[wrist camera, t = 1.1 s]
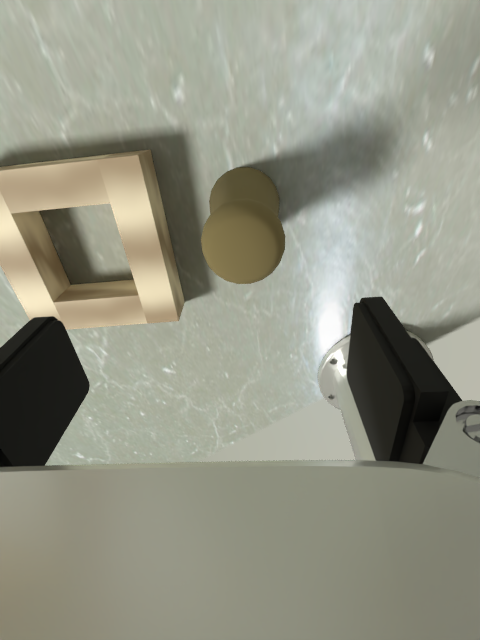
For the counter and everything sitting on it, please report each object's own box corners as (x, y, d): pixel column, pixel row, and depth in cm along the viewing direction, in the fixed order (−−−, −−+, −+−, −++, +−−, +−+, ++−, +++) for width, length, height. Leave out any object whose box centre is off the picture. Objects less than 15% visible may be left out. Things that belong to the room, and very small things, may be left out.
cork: (291, 218, 29) (311, 271, 19) (231, 250, 30) (225, 313, 21) (259, 151, 26) (265, 176, 17) (195, 191, 28) (169, 233, 18)
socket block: (184, 302, 33) (178, 320, 31) (54, 312, 34) (36, 331, 32) (150, 149, 26) (138, 154, 23) (-16, 168, 27) (-48, 176, 24)
